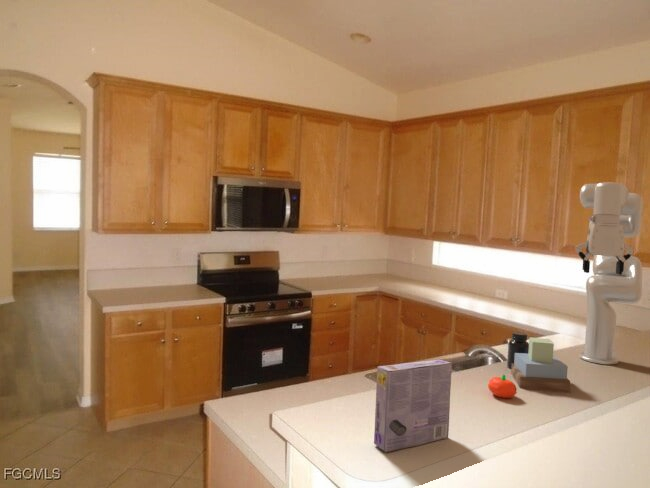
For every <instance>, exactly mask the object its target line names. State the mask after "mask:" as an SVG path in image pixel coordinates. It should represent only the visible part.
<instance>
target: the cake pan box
mask: <svg viewBox="0 0 650 488" xmlns="http://www.w3.org/2000/svg"><path fill="white" fill-rule="evenodd" d="M452 366H453V364H452V362H450V361H447V360H442V359H431V360H425V361H415V362H406V363H405V362H403V363H397V364H396V363H395V364H388V365H379V366H377V367H376V370H377V371H376V388H375V389H376V390H375V410H374V411H375V413H374V416H375V417H374V433H373V434H374V437H373V439H374V440H373V443H374V445H375V446H377V447H378V448H379V449H380V450H381V451H383V452H384V453H385V454H387V453H390V452H393V451H398V450H402V449H406V448H414V447H418V446H422V445H426V444H428V443H431V442H435V441H440V440H444V439H449V431H450V430H449V429H450V428H449V427H450V407H451V385H452V372H453V371H452V368H453V367H452Z"/></svg>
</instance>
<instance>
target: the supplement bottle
mask: <svg viewBox="0 0 650 488" xmlns="http://www.w3.org/2000/svg"><path fill="white" fill-rule="evenodd" d="M511 333H512V334H511V339H510V340H509V341H508V345H507V346H508V347H507V360H506V362H507V363H506V366H507V367H508V368H509V369H511V365H512V363H513V364H514V358H515V353H526V354H528V352H529V341H527V340H528V334H527V333H525V332H519V331H513V332H511Z"/></svg>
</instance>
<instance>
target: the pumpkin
mask: <svg viewBox="0 0 650 488" xmlns="http://www.w3.org/2000/svg"><path fill="white" fill-rule="evenodd" d="M487 387H488V389H489V391H490V392H491V393H492V394H493V395H495V396H496V397H499V398H502V399H509V398H513V397H514V396H516V394H517V387H516V384H515V383H514V382H513V381H511V380H509V379H506V375H505V374H502V376H501V377H500V376H493V377H492V378H490V379H489V381H488V384H487Z"/></svg>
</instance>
